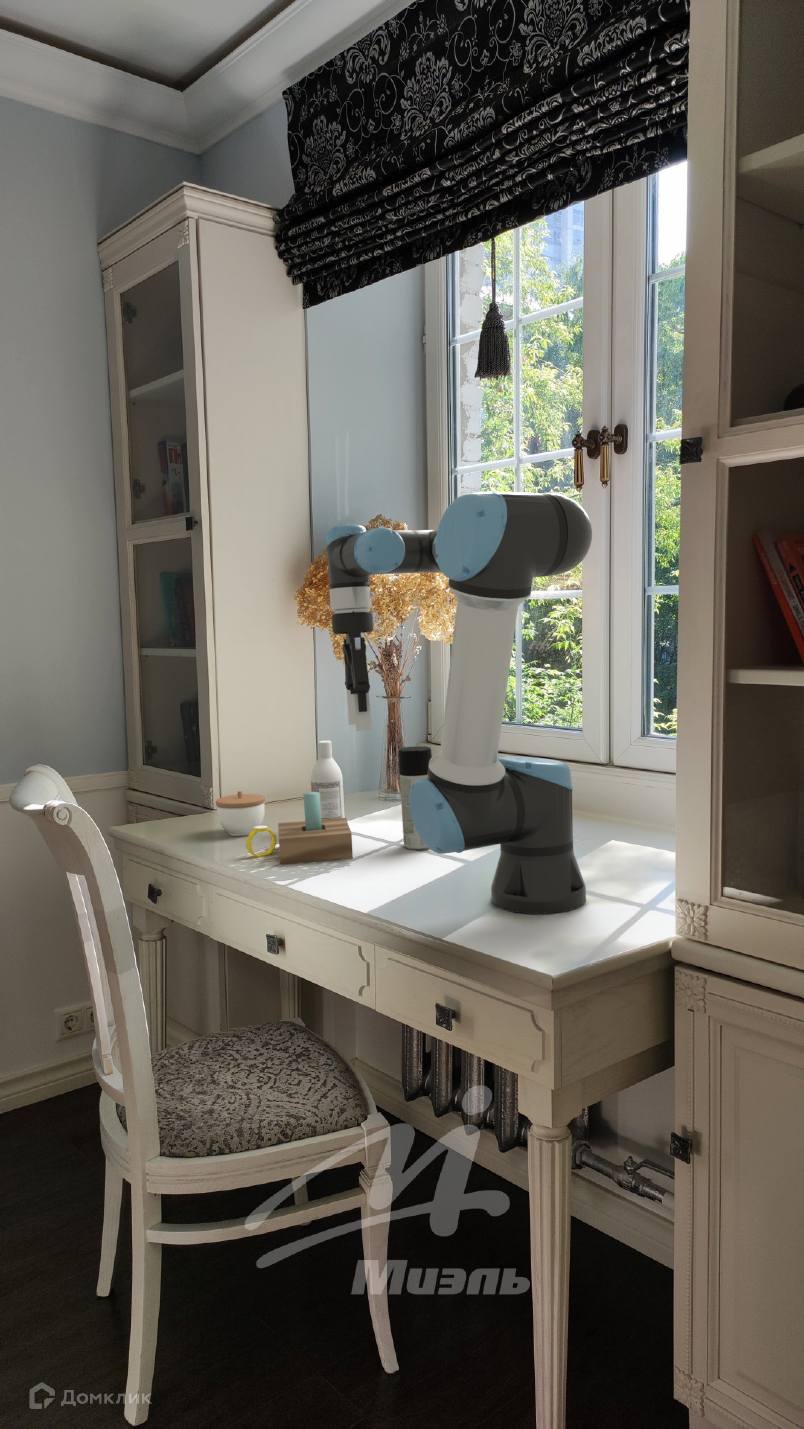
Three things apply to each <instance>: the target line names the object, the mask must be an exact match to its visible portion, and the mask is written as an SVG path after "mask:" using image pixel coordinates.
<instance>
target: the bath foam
mask: <svg viewBox="0 0 804 1429" xmlns="http://www.w3.org/2000/svg"><path fill="white" fill-rule="evenodd" d="M332 748H333V746H332V741H331V740H320V741H318V742H317V749H318V750H317V752H318V759H317V761H316V763H315V764H314V767H313V769H312V771H311V775H310V788H311V791H310V792H319V793H320V808H321V820H325V819H338V818H346V814H345V810H346V809H345V794H344V778H343V773H342V771H341V770H342V769H341V768H340V766H339V765H338V764H337V762H336V761H335V759H334V758H333V750H332Z"/></svg>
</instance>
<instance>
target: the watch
mask: <svg viewBox="0 0 804 1429" xmlns="http://www.w3.org/2000/svg"><path fill="white" fill-rule="evenodd" d="M268 827H269V826H268V825H261V826H255V827H254V830H253V831H252V832H251V833H250V834H249V835H247V838H246V849H247V851H248V853H249V854H250V855H251V856H253V857H256V858H261V857H266V856H270V855H272V853H273V852H274V851H275V849H276V846H277V838H276V836H277V835H275V833H274V831H272V830H271V829H270V828H268ZM261 832H268V833H269V835H270V838H271V844H270V847H269V849H268V850H267V851H265V852H261V853H255V852H254V851H253V849H252V840H253V838H254V836H255V835H256V834H257V833H261Z"/></svg>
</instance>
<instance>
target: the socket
mask: <svg viewBox="0 0 804 1429" xmlns="http://www.w3.org/2000/svg"><path fill="white" fill-rule="evenodd" d="M321 823H322V830H313V831H306V825H305V820H299V821H289V822H288V821H287V822H278V823H277V826H278V828H277V831H278V843H279V844H278V846H279V847H278V848H279V862H280V865H285V864H287V865H288V864H296V863H309V862H321V861H332V860H333V861H334V860H335V859H336V860H345V859H346V860H348V859H354V854H353V839H352V838H353V835H352V831H351V828H350V825H349V822H348V819H347V817H345V818H338V819H325V820H321Z"/></svg>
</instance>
